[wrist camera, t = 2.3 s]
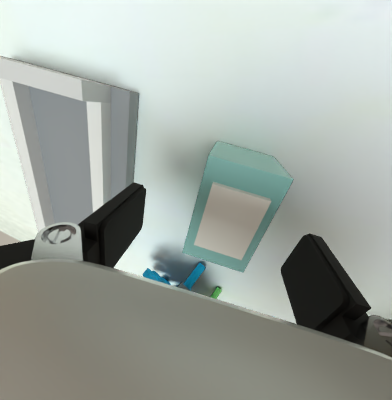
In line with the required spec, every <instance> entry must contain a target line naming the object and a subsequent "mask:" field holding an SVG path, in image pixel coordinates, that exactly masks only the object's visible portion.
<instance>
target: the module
mask: <svg viewBox="0 0 392 400" xmlns="http://www.w3.org/2000/svg"><path fill="white" fill-rule="evenodd" d="M293 180H294V179H293V178H292V177H291V176H290V175H289V174H288V172H287V171H286V170H285V169H284V168H283V167H282V166H281V165H280V163H279V162H278V161H277V160H276V159H275V158H274V157H273V156H270V155H266V154H263V153H259V152H256V151H252V150H248V149H245V148H241V147H238V146H234V145H231V144H227V143H224V142H220V141H217V142H216V144H215V146H214V147H213V149H212V150H211V152H210V154H209V156H208V159H207V163H206V167H205V170H204V174H203V178H202V182H201V185H200V189H199V193H198V196H197V200H196V204H195V207H194V211H193V215H192V219H191V222H190V226H189V230H188V233H187V237H186V241H185V244H184V248H183V252H182V253H185V254H188V255H191V256H194V257H197V258H200V259H203V260H206V261H209V262H212V263H215V264H218V265H222V266H225V267H228V268H231V269H234V270H237V271H240V272H244V270H245V268H246V267H247V265H248V263H249V261H250V259H251V257H252V256H253V254H254V252H255V250H256V248H257V246H258V244H259V243H260V241H261V239H262V237H263V235H264V233H265V232H266V230H267V228H268V226H269V224H270V222H271V221H272V219H273V217H274V215H275V213H276V211H277V209H278V208H279V206H280V204H281V202H282V200H283V198H284V197H285V195H286V193H287V191H288V189H289V187H290V185H291V184H292V182H293Z"/></svg>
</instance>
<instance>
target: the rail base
mask: <svg viewBox="0 0 392 400" xmlns="http://www.w3.org/2000/svg"><path fill="white" fill-rule="evenodd" d="M0 84H1V88H2V92H3V96H4V100H5V104H6V108H7V112H8V116H9V120H10V123H11V127H12V131H13V135H14V139H15V143H16V147H17V151H18V155H19V159H20V163H21V167H22V171H23V174H24V178H25V182H26V186H27V190H28V194H29V198H30V202H31V206H32V210H33V214H34V218H35V221H36V225H37V229H38V232H39V231H40V230H41V229H43V228H45V227H46V226H49V225H52V224H55V223H60V222H69V223H74V224H76V225H78V224H79V223H80V222H82V221H83V220H84V219H86V218H87V217H88V216H90V215H91V214H92V213H93V212H95V211H96V210H97V209H99V208H100V207H101V206H102V205H104V204H105V203H106V202H108V201H109V200H111V199H112V198H113V197H115V196H116V195H117V194H119V193H120V192H121V191H122V190H124V189H125V188H126V187H128V186H129V185H130V184H132V183H133V177H134V162H135V147H136V132H137V117H138V102H139V93H137V92H133V91H129V90H126V89H122V88H118V87H115V86H111V85H107V84H103V83H100V82H96V81H92V80H89V79H85V78H81V77H78V76H74V75H70V74H67V73H63V72H59V71H56V70H52V69H48V68H44V67H41V66H37V65H33V64H30V63H26V62H22V61H19V60H15V59H11V58H7V57H3V56H0ZM127 249H128V248H127Z"/></svg>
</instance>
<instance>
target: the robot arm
mask: <svg viewBox="0 0 392 400" xmlns="http://www.w3.org/2000/svg"><path fill="white" fill-rule="evenodd" d="M145 196H146V189H145V188H144V187H143V185H140V184H137V183H132V184H130V185H129V186H128V187H126V188H125V189H124V190H122V191H121V192H120V193H119V194H117V195H116V196H115V197H113V198H112V199H111V200H109V201H108V202H106V203H105V204H104V205H102V206H101V207H100V208H99V209H97V210H96V211H95V212H93V213H92V214H91V215H90V216H88V217H87V218H86V219H84V220H83V221H82V222H80V223H79V224H78V225H76V224H74V223H69V222H60V223H55V224H52V225H49V226H46V227H45V228H43V229H41V230H40V231H39V232H38V233H37V235H36V238H35V239H34V240H29V241H24V242H18V243H13V244H8V245H3V246H0V400H392V322H389V321H388V320H386V319H384V318H382V317H380V316H376V315H371V316H368V315H367V313H366V312H367V311H368V310H370V309H371V307H370V305H369V304H368V303H367V301H366V300H365V298H364V297H363V296H362V294H361V293H360V291H359V290H358V288H357V287H356V286H355V284H354V283H353V281H352V280H351V279H350V277H349V276H348V274H347V273H346V271H345V270H344V269H343V267H342V266H341V264H340V263H339V261H338V260H337V259H336V257H335V256H334V254H333V253H332V252H331V250H330V249H329V247H328V246H327V244H326V243H325V242H324V240H323V239H322V238H321V237H319V236H316V235H313V234H307V235H304V236H303V237H302V238H301V240H300V241H299V243H298V244H297V246H296V247H295V248H294V250H293V251H292V253H291V254H290V255H289V257H288V258H287V260H286V261H285V263H284V264H283V265H282V267H281V274H282V277H283V281H284V284H285V287H286V290H287V293H288V297H289V300H290V303H291V306H292V310H293V313H294V316H295V319H296V323H297V324H294V323H291V322H288V321H285V320H281V319H278V318H275V317H272V316H269V315H266V314H262V313H259V312H256V311H253V310H250V309H246V308H243V307H240V306H237V305H234V304H230V303H227V302H224V301H221V300H218V299H214V298H211V297H208V296H205V295H201V294H198V293H195V292H192V291H188V290H185V289H182V288H178V287H175V286H172V285H169V284H165V283H162V282H159V281H156V280H152V279H149V278H146V277H142V276H139V275H135V274H132V273H128V272H125V271H121V270H118V269H114V268H113V267H114V266H115V265H116V263H117V262H118V261H119V259H120V258H121V256H122V255H123V254H124V252H125V251H126V250H127V248H128V247H129V245H130V244H131V243H132V241H133V240H134V239H135V237H136V236H137V234H138V233H139V232H140V230H141V228H142V225H143V216H144V206H145Z"/></svg>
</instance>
